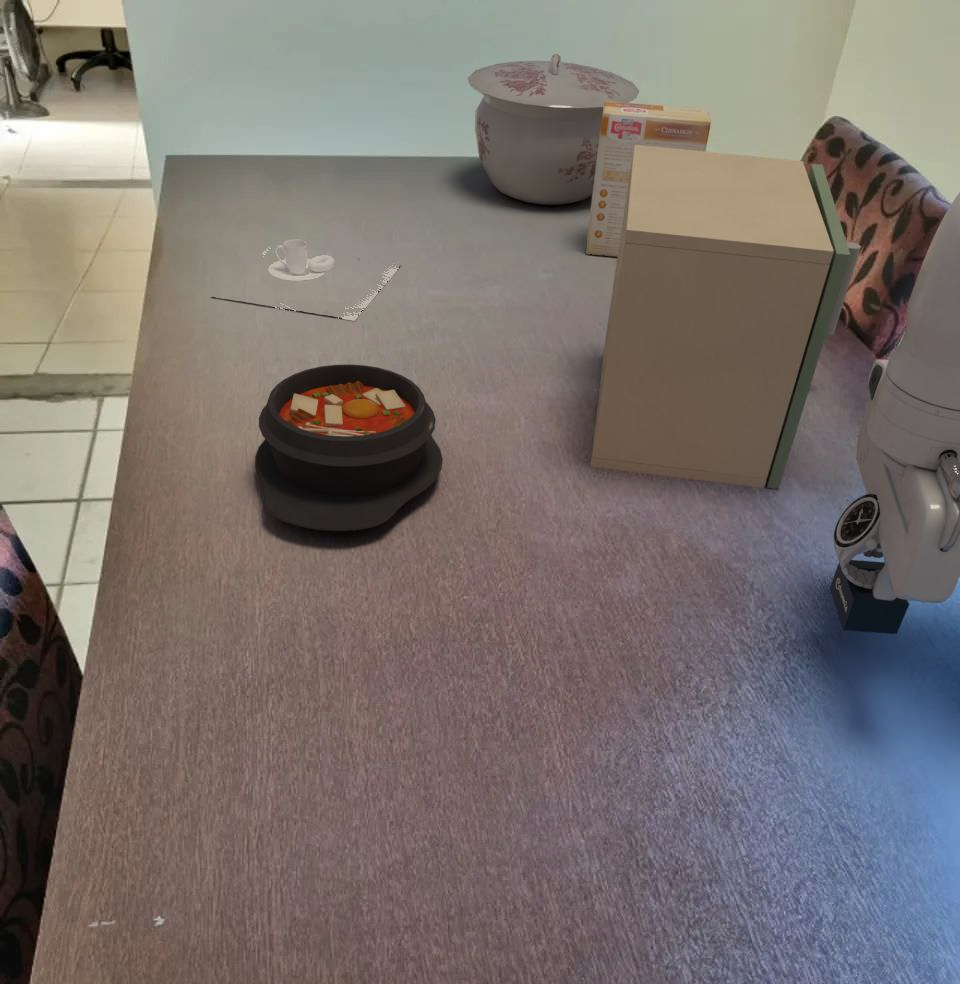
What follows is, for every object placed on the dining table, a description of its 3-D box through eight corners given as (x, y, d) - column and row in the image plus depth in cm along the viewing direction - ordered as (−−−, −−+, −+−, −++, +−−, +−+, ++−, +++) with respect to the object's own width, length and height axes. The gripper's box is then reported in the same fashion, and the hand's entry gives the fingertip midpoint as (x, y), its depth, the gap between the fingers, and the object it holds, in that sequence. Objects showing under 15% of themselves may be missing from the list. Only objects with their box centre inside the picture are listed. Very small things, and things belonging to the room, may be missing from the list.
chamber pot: (514, 229, 152) (526, 80, 138) (435, 176, 169) (438, 39, 155) (658, 208, 163) (682, 68, 149) (570, 160, 180) (583, 31, 166)
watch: (806, 586, 83) (842, 475, 76) (901, 593, 83) (946, 483, 76) (818, 629, 79) (858, 515, 72) (919, 636, 79) (968, 523, 71)
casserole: (419, 559, 88) (420, 480, 83) (220, 534, 90) (208, 455, 84) (459, 423, 107) (462, 351, 101) (293, 404, 108) (287, 332, 102)
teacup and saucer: (340, 267, 137) (338, 238, 134) (319, 288, 131) (317, 258, 129) (282, 258, 139) (279, 229, 136) (259, 279, 133) (255, 249, 130)
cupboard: (748, 372, 120) (803, 160, 103) (764, 489, 100) (834, 250, 84) (603, 356, 121) (634, 144, 105) (590, 467, 102) (626, 229, 85)
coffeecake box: (682, 247, 150) (709, 107, 137) (685, 264, 145) (713, 121, 132) (586, 238, 151) (603, 98, 138) (585, 255, 146) (603, 111, 133)
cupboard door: (814, 379, 119) (879, 170, 103) (836, 497, 100) (920, 262, 83) (756, 372, 120) (811, 163, 103) (766, 488, 100) (836, 252, 84)
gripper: (1023, 506, 61) (944, 665, 70) (952, 359, 76) (894, 506, 85) (919, 495, 61) (854, 654, 71) (869, 351, 76) (821, 498, 86)
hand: (876, 572), depth 78 cm, fingers closed on watch, 4 cm apart
